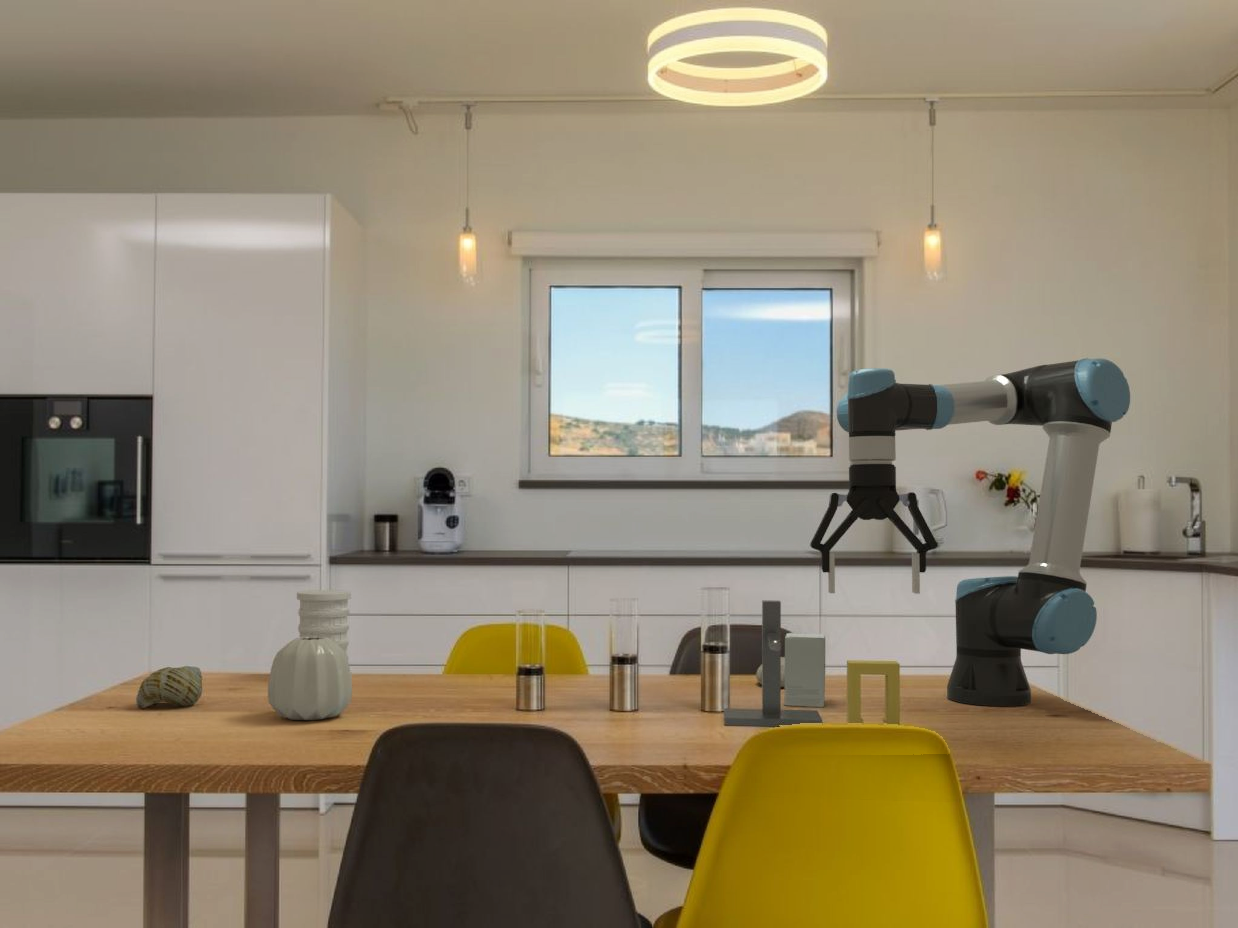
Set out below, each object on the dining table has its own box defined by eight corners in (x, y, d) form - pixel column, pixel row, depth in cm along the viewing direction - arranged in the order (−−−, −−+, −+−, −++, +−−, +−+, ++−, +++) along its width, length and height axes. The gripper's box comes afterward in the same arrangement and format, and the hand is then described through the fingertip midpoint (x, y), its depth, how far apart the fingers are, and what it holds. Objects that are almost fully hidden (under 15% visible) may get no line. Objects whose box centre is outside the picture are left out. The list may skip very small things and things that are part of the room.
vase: (263, 712, 196) (265, 635, 197) (345, 707, 202) (346, 632, 202) (272, 727, 184) (274, 644, 184) (359, 721, 189) (360, 640, 190)
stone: (791, 702, 237) (774, 668, 241) (827, 679, 233) (809, 645, 236) (757, 704, 227) (740, 669, 231) (794, 680, 223) (776, 644, 226)
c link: (896, 728, 186) (896, 660, 187) (899, 732, 183) (899, 663, 183) (846, 727, 187) (846, 660, 187) (849, 731, 184) (849, 662, 184)
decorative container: (307, 674, 240) (308, 589, 241) (359, 676, 239) (361, 590, 239) (283, 683, 229) (285, 593, 229) (338, 684, 227) (340, 594, 228)
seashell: (121, 703, 201) (145, 650, 205) (167, 722, 207) (189, 670, 211) (151, 707, 194) (176, 652, 198) (197, 726, 201) (220, 672, 205)
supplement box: (824, 707, 205) (824, 637, 206) (783, 705, 207) (783, 636, 207) (825, 700, 213) (825, 633, 213) (785, 699, 214) (785, 631, 214)
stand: (817, 717, 196) (817, 600, 196) (826, 736, 179) (826, 609, 180) (724, 715, 197) (724, 599, 198) (725, 734, 181) (725, 607, 181)
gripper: (945, 463, 189) (946, 591, 189) (794, 464, 191) (795, 590, 191) (954, 462, 182) (956, 594, 181) (797, 463, 184) (798, 594, 183)
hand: (873, 593), depth 186 cm, fingers open, 13 cm apart
